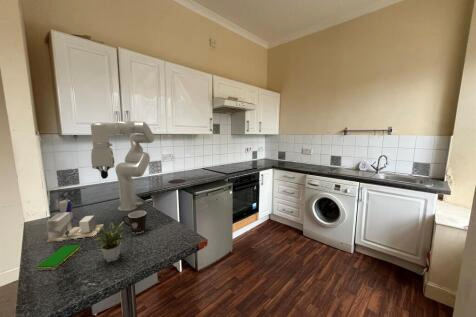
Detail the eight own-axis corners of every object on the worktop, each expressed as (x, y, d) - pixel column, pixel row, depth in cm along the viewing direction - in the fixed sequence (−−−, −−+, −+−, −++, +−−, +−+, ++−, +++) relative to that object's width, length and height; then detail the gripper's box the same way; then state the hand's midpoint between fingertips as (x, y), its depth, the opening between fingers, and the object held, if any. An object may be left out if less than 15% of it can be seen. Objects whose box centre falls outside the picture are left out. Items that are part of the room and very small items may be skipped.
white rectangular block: (95, 225, 110) (94, 215, 109) (88, 234, 101) (87, 223, 100) (86, 226, 109) (85, 216, 108) (78, 235, 100) (76, 224, 99)
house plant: (83, 275, 76) (78, 235, 73) (92, 254, 88) (88, 219, 86) (126, 265, 81) (123, 228, 79) (129, 247, 94) (126, 214, 91)
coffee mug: (151, 229, 110) (149, 212, 108) (137, 237, 102) (135, 219, 100) (136, 225, 114) (135, 208, 113) (122, 232, 107) (120, 214, 105)
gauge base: (103, 225, 113) (102, 209, 112) (94, 237, 102) (93, 218, 100) (61, 230, 108) (59, 212, 106) (47, 242, 96) (44, 223, 95)
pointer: (69, 234, 101) (68, 225, 100) (67, 237, 99) (66, 227, 98) (67, 235, 101) (66, 225, 100) (65, 237, 99) (64, 227, 98)
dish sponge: (81, 249, 92) (80, 244, 92) (56, 271, 79) (55, 265, 78) (64, 250, 92) (63, 245, 91) (37, 271, 78) (36, 266, 78)
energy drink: (75, 219, 121) (73, 200, 119) (65, 223, 116) (62, 203, 114) (69, 217, 122) (67, 198, 120) (59, 221, 117) (56, 202, 115)
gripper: (118, 144, 116) (121, 175, 119) (88, 145, 112) (92, 177, 115) (114, 146, 109) (117, 179, 112) (82, 146, 105) (86, 180, 108)
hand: (104, 178), depth 113 cm, fingers closed
